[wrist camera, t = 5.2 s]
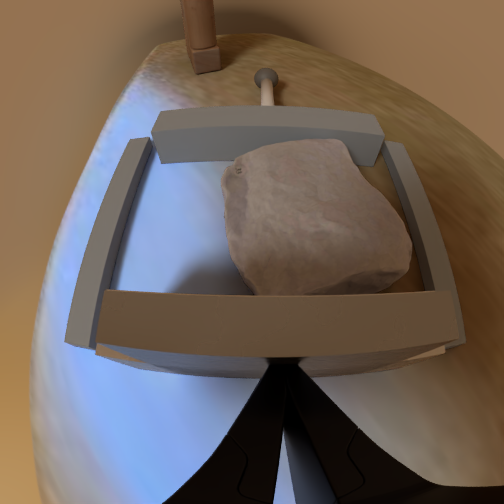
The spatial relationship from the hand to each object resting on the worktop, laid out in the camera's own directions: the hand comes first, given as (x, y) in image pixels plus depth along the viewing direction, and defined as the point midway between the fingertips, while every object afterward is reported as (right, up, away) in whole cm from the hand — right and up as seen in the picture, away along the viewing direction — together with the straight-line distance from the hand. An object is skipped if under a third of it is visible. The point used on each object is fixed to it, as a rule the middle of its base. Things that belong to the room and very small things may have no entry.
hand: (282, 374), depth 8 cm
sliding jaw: (0, -2, +7) cm, 7 cm away
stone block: (+2, +5, +11) cm, 12 cm away
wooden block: (-8, +32, +26) cm, 41 cm away
